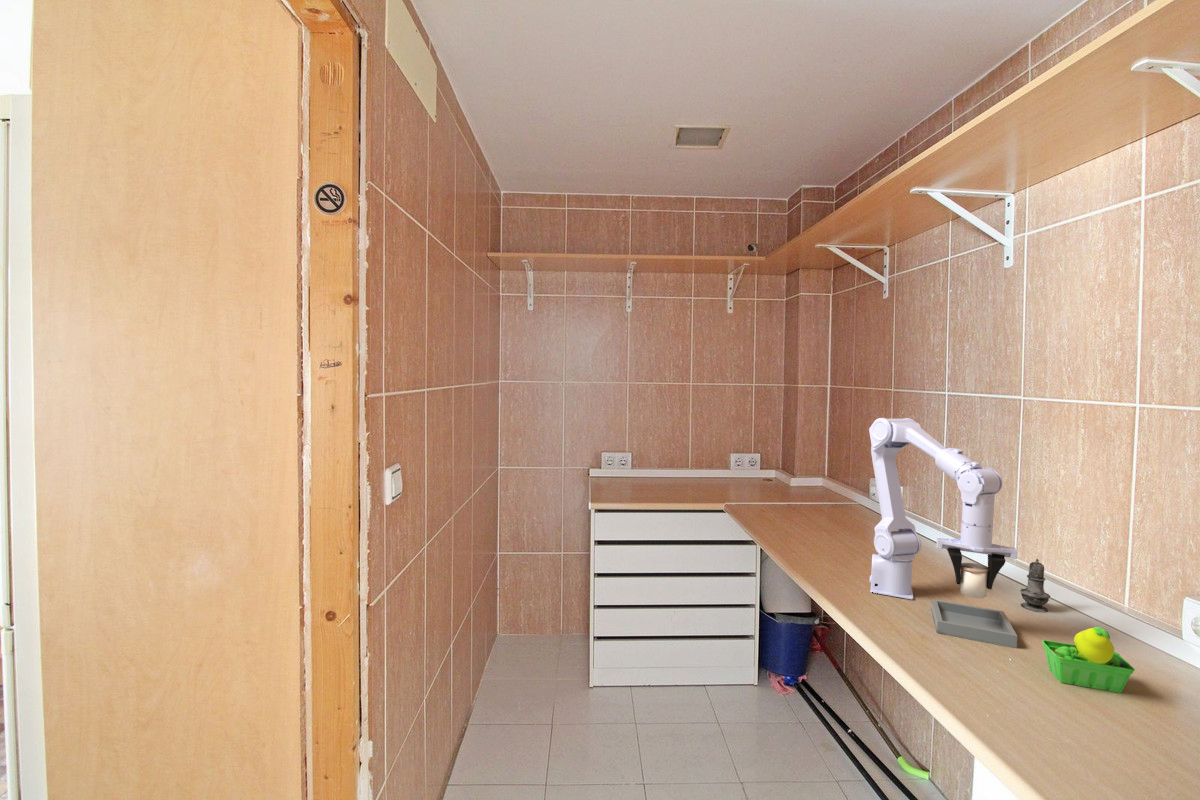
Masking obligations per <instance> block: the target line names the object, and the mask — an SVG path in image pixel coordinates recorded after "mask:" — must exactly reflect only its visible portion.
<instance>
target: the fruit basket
mask: <svg viewBox="0 0 1200 800" xmlns="http://www.w3.org/2000/svg"><path fill="white" fill-rule="evenodd" d="M1110 639H1111V635H1110V633H1109V632H1108V630H1106V629H1104V628H1102V627H1099V626H1094V627H1091V628H1087V629H1085V630H1081V631H1079V632H1078V633H1076V634H1075V636H1074V637H1073V642H1074V644H1072V643H1066V642H1058V641H1052V640H1045V639H1043V640H1041V643H1042V647H1043V648H1044V651H1045V652H1044V653H1045V656H1046V661H1047V665H1048V669H1049V671H1050V672H1051V673H1052V674H1053V675H1054V677H1055V678H1056V679H1058V681H1059V682H1060V683H1061V684H1066V685H1068V684H1069V685H1074V686H1079V687H1083V688H1092V689H1094V690H1095V689H1096V690H1101V691H1109V692H1113V693H1119V694H1121V693H1122V692H1123V690H1124V689H1125V687H1126V685H1127V683H1128V681H1129V679H1130V677H1131V675H1133V673H1134V672H1135V668H1134V667H1133V666H1132V665H1131V664H1130V663H1129V662H1128V661H1127V660H1126V659H1124V658H1123V657H1122V656H1121V655H1120V654H1118V652H1116V651H1115V647H1114V645H1113V642H1112V641H1111V640H1110Z"/></svg>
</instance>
